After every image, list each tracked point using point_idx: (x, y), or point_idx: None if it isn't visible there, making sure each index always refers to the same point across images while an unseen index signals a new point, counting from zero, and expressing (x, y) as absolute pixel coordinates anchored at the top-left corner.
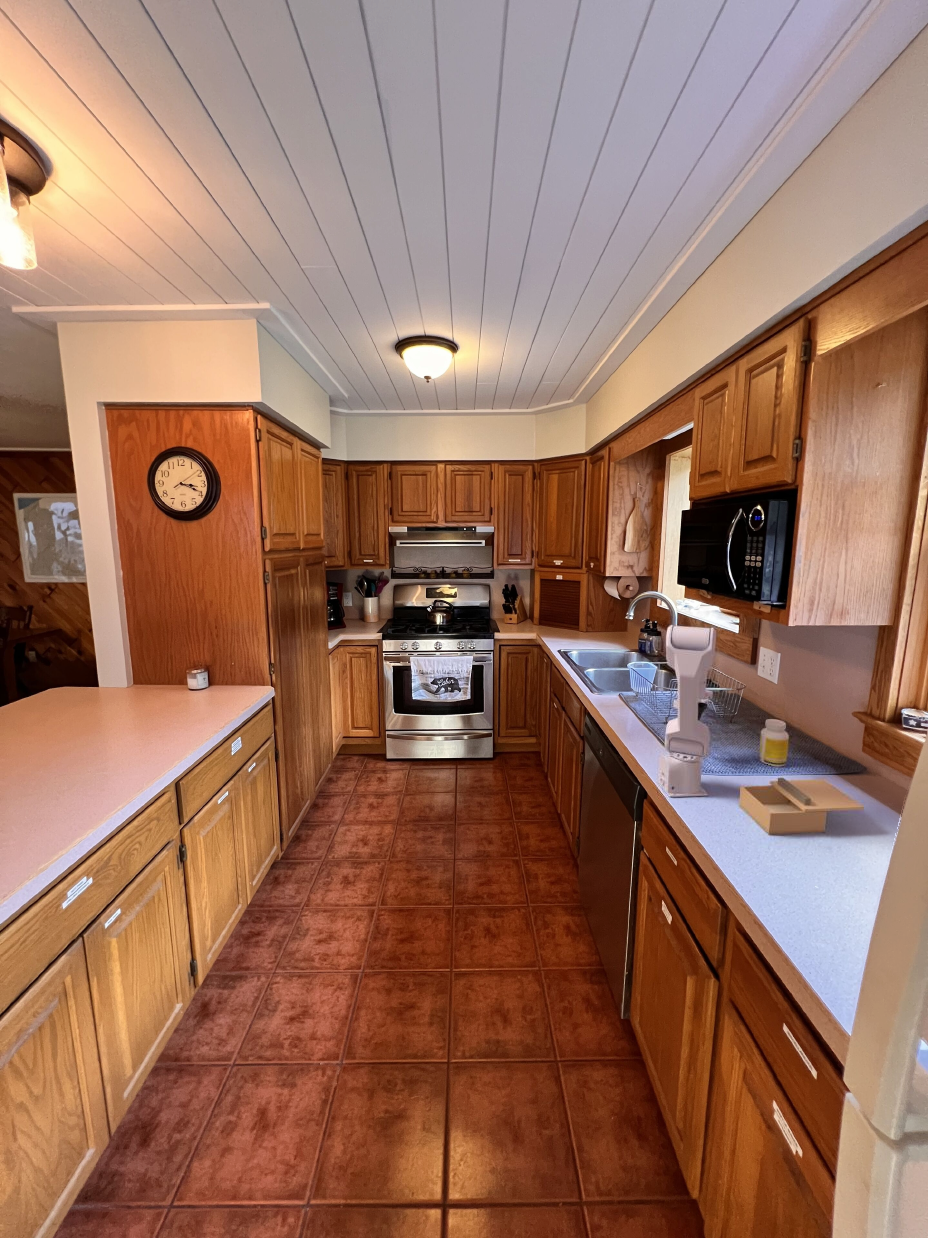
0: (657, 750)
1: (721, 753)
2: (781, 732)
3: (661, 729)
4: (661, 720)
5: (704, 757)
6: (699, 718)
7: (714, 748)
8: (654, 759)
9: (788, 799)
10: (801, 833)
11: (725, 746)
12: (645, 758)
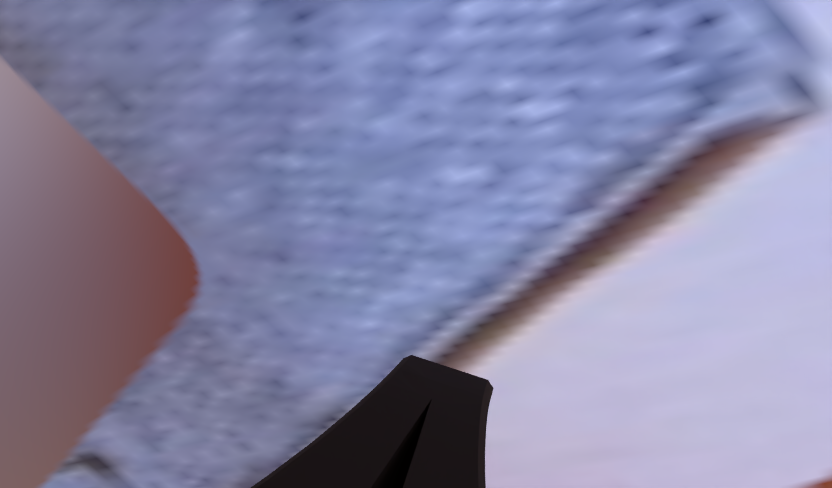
0: (518, 426)
1: (172, 14)
2: None
3: (190, 465)
4: (88, 485)
5: None
6: (310, 483)
7: (141, 99)
8: (711, 412)
9: None
10: None
11: (39, 42)
12: (740, 468)
